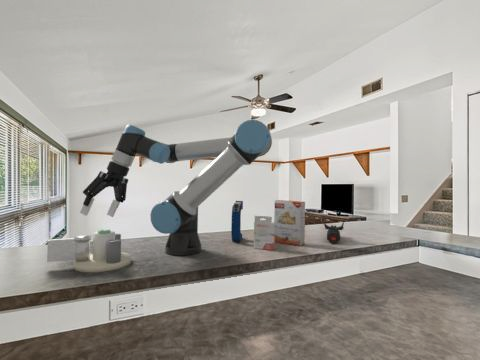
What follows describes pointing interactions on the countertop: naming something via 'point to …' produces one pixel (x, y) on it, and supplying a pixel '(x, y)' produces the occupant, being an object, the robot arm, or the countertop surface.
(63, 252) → the wing knob
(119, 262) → the base
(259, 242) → the ink cartridge box
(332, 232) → the horned monster figurine
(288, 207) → the cracker box
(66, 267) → the countertop surface
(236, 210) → the handheld scanner
